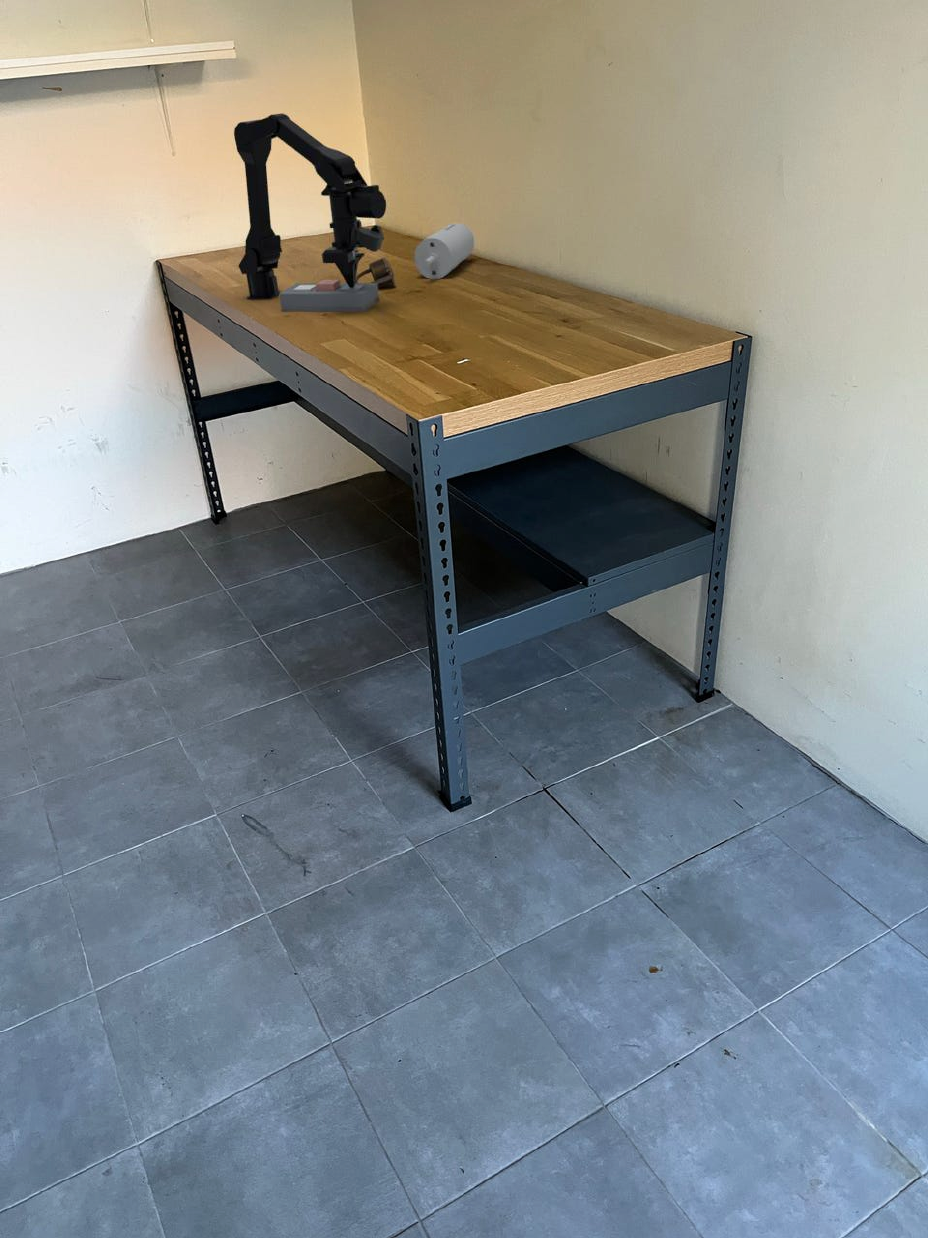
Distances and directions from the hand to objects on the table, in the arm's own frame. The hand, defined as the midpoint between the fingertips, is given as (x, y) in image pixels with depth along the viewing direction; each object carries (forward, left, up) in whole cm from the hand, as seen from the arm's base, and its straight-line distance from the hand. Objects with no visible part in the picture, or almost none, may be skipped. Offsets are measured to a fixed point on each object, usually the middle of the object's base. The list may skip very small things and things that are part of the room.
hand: (351, 287), depth 223 cm
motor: (+13, +40, -5) cm, 42 cm away
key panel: (-6, 0, -4) cm, 7 cm away
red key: (-6, 0, -2) cm, 6 cm away
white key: (-12, 0, -3) cm, 12 cm away
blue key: (0, 0, -3) cm, 3 cm away
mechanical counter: (-1, +19, -5) cm, 19 cm away
